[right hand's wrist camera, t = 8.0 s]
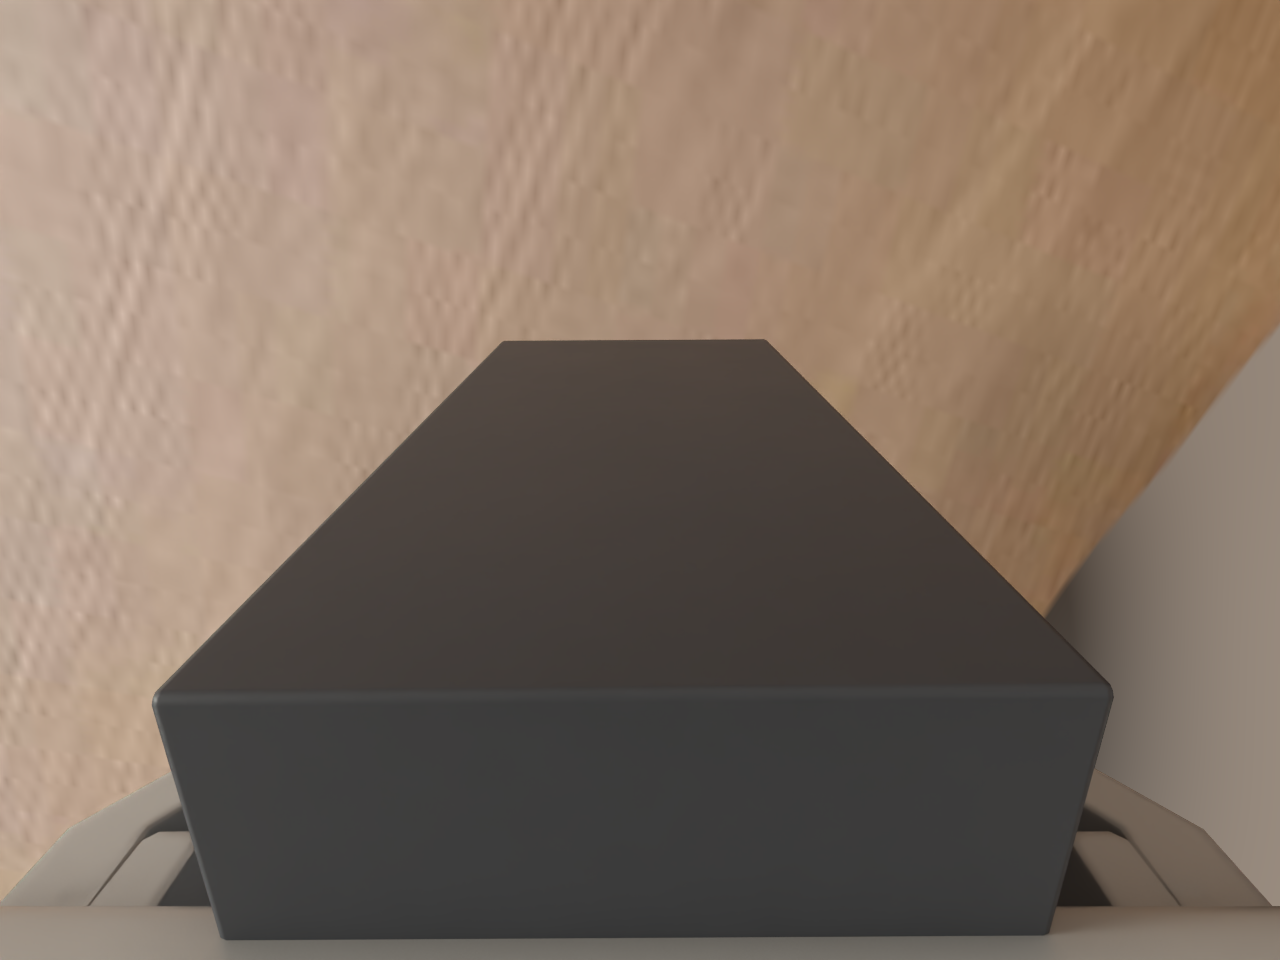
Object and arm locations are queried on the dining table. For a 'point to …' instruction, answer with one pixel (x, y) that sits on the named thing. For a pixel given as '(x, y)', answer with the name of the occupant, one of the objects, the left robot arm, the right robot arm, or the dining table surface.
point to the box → (633, 682)
